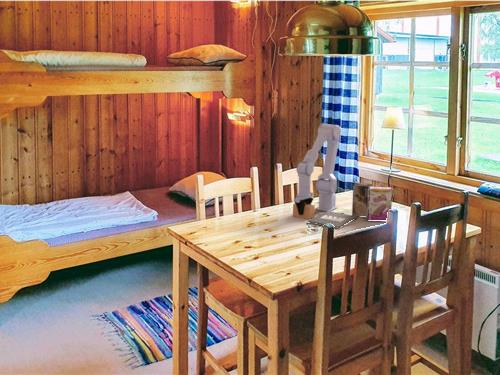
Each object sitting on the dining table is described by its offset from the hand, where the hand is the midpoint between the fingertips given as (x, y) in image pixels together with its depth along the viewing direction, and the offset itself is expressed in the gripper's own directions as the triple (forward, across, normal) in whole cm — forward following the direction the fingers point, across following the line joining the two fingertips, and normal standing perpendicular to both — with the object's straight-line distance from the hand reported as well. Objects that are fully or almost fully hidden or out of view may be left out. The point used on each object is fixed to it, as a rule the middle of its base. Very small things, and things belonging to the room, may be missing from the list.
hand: (303, 213), depth 280 cm
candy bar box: (+2, -15, +33) cm, 36 cm away
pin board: (+2, -2, +15) cm, 15 cm away
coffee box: (+2, -18, +23) cm, 29 cm away
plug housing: (+2, 0, 0) cm, 2 cm away
